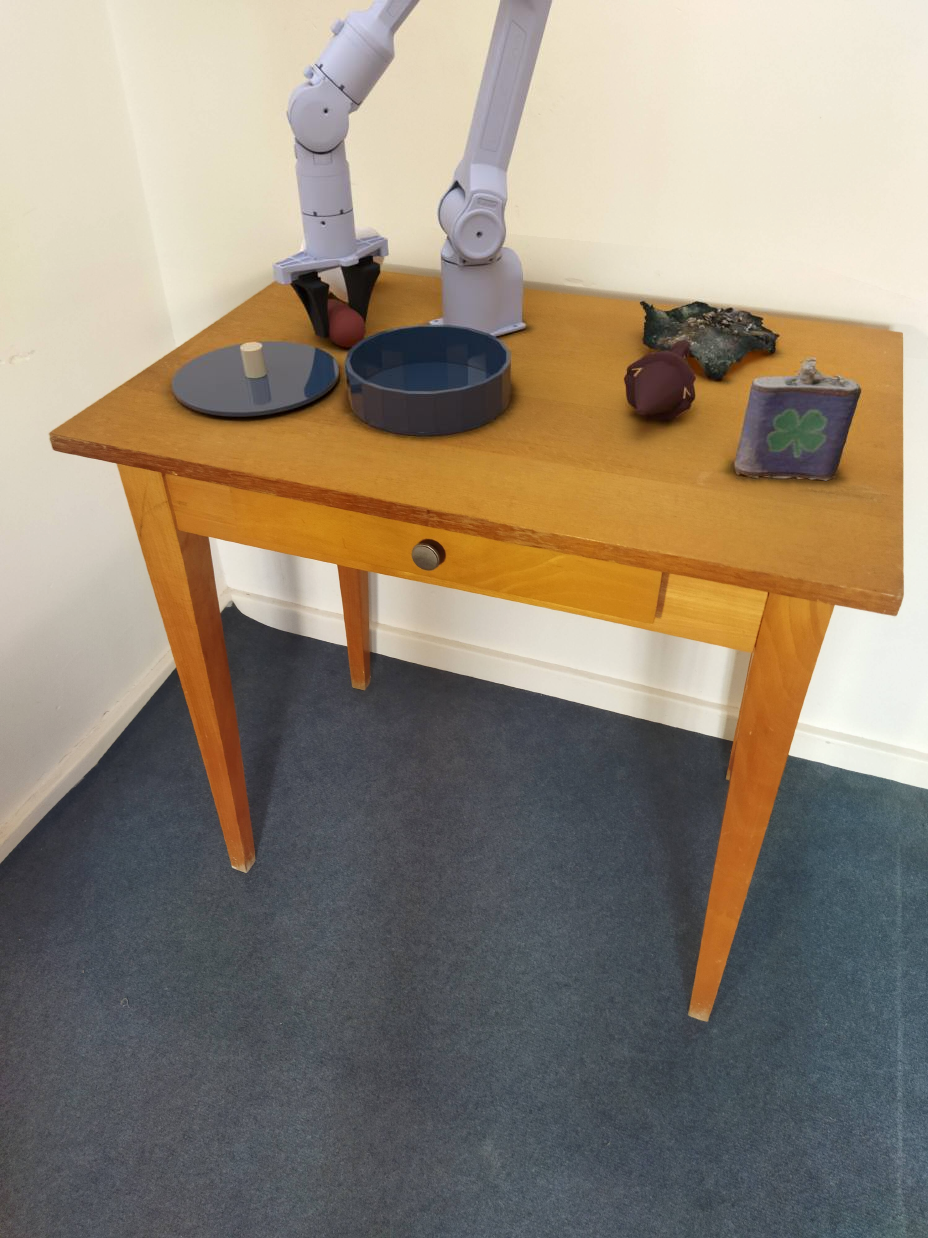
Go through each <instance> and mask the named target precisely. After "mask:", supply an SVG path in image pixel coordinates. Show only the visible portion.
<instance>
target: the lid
mask: <svg viewBox="0 0 928 1238" xmlns="http://www.w3.org/2000/svg"><path fill="white" fill-rule="evenodd" d="M339 376H340V367H339V364H338V361H337V360H336V359H335V358H334V357H333V356H332V355H331V354H330V353H328V352H327V351H325V350H323V349H321V348H319V347H316V346H313V345H310V344H305V343H299V342H292V341H282V340H281V341H280V340H279V341H278V340H266V341H249V342H244V343H238V344H233V345H228V346H224V347H221V348H217V349H213V350H211V351H208V352H206V353H203V354H200V355H199V356H197V357H195V358H193V359H191V360H189V361H188V362H187V363H185V364H183V366H181V367H180V368H179V369H178V370H177V371H176V372H175V373H174V375H173V376H172V377H173V378H172V380H171V389H172V393H173V395H174V397H175V398H176V399H177V401H178V402H179V403H181V404H182V405H184V406H185V407H187V408H189V409H191V410H194V411H197V412H200V413H204V414H208V415H213V416H221V417H235V418H236V417H256V416H257V417H258V416H264V415H271V414H277V413H281V412H285V411H290V410H293V409H297V408H299V407H302V406H305V405H307V404H309V403H311V402H314V401H315V400H318V399H319V398H321V397H323V396H324V395H325V394H327V393H328V392H329V391H331V389H332V388H334V386H335V385H336V383H337V382H338V380H339Z"/></svg>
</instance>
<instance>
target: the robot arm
mask: <svg viewBox="0 0 928 1238" xmlns="http://www.w3.org/2000/svg"><path fill="white" fill-rule="evenodd" d="M420 1H421V0H373V2H372V3H371V5H370V7H369V8H367V9H366V10H365V9H364V10H353V11H349V12H348V14H347V15H346V16H345V18H344V19H343V20H341V18H339V17H336V19H335V20H334V22H333V23H332V25H331V26H330V30H331V32H332V33H333V36H332V37H331V38H330V39H329V42H328V43H327V44H326V46H325V47H324V49H323V50H322V52H321V54H319V56H318V58H317V59H316V61H315V63H314V64H313V65H312V66H311V65H310V64H307V65H306V66H305V68H304V69H303V71H302V74H303V76H304V77H305V78H306V79H307V80H306V81H304V82H301V83H300V84H298V85H297V86H295V88H294V89H293V90H292V92H291V94H290V95H289V99H288V101H287V110H286V118H287V122H288V123H289V125H290V128H291V131H292V133H293V135H294V144H293V153H294V157H295V159H296V163H295V167H294V168H295V176H296V183H297V191H298V197H299V198H298V199H299V206H300V213H301V223H302V229H303V238H305V246H306V249H305V250H303V251H301V252H300V251H298V252H297V253H295V254H293V255H291V256H289V257H287V258H285V259H282V260H279V261H277V262H273V263H272V272H273V276H274V277H273V278H274V282H277V283H278V284H281V285H283V286H287V285H290V286H291V287H292V289H293V291H294V292H295V293H296V295H297V296H298V298H299V300H300V302H301V303H302V305H303V307H304V309H305V311H306V313H307V316H308V318H309V321H310V323H311V325H312V326H311V327H312V329H313V332H314V335H315V336H317V337H319V338H321V339H322V340H326V339H329V320H328V300H329V294H328V292H329V287H330V285H329V284H328V283H325V282H323V281H321V277H318V273H321V272H324V271H328V270H331V269H335V268H338V267H341V270H342V274H343V277H344V281H345V285H346V289H347V295H348V303H347V304H348V307H350V308H351V309H353V310H355V311H356V312H357V313H359V314H360V315H361V317H362V318H363V320H364V323H365V326H366V324H367V318H368V312H369V305H370V302H371V298H372V293H373V290H374V287H375V286H376V283H377V280H378V278H379V276H380V275H381V268H380V264H379V263H376V262H374V261H373V257H377V256H380V257H388V256H389V240H388V238H387V237H384V236H382V235H381V236H379V235H376V236H372V237H366V238H359V239H356V234H355V227H356V225H355V215H354V214H355V213H354V203H353V193H352V192H353V191H352V182H351V171H350V163H349V161H348V160H347V152H346V142H345V139H346V138H347V136H348V133H349V129H350V117H349V116H350V115H351V114H352V113H354V112H357V111H358V110H359V109H360V107H361V106H362V104H363V103H364V102H365V100H366V99H367V97H368V96H369V95H370V93H371V92H372V91H373V89H374V87H375V86H376V85H377V83H378V82H379V80H380V79H381V78H382V77H383V75H384V73H385V72H386V70H388V68H389V67H390V66H391V64H392V63H393V61H394V60H395V58H396V57H395V55H396V52H395V51H396V50H395V43H394V42H395V41H394V38H395V35H396V33H397V32H398V30H399V29H400V27H402V25H403V24H404V22H405V21H406V20H407V18H408V17H409V15H410V14H411V13H412V12H413V11H414V9H415V8H416V6H417V5H418V4H419V3H420ZM552 4H553V0H499V3H498V8H497V12H496V15H495V20H494V25H493V28H492V29H493V30H492V33H491V36H490V37H491V38H490V42H489V46H488V50H487V55H486V59H485V63H484V67H483V72H482V76H481V80H480V84H479V88H478V93H477V97H476V101H475V106H474V110H473V113H472V119H471V122H470V127H469V131H468V135H467V139H466V144H465V148H464V152H463V156H462V158H461V160H460V161H459V163H458V164H457V165H456V167H455V169H454V172H453V177H452V180H451V183H450V185H449V187H448V188H447V189H446V191H445V192H444V193H443V195H442V196H441V198H440V200H439V203H438V206H437V221H438V224H439V226H440V229H442V231H443V232H444V233H445V234H446V238H445V241H444V243H443V245H442V246H441V248H440V276H441V308H442V312H441V313H442V317H440V318H437V319H432V320H429V322H428V325H453V326H460V327H468V328H472V329H476V330H479V331H482V332H486V333H489V334H491V335H492V336H494V337H496V338H497V337H499V336H502V335H506V334H510V333H513V332H517V331H521V330H524V329H526V328H527V324H526V323H525V322H523V303H524V302H523V300H524V271H523V266H522V262H521V260H520V258H519V255H518V254H517V253H516V252H515V250H513V249H512V248H511V247H508V246H504V244H505V242H506V237H507V226H506V220H505V219H506V218H505V213H506V212H505V211H506V206H507V202H508V180H507V179H508V178H507V176H508V175H507V173H508V170H509V165H510V162H511V158H512V153H513V150H514V148H515V147H514V146H515V142H516V139H517V136H518V133H519V128H520V124H521V121H522V117H523V113H524V109H525V106H526V101H527V97H528V94H529V89H530V86H531V83H532V79H533V74H534V71H535V67H536V63H537V59H538V57H539V52H540V49H541V44H542V41H543V37H544V34H545V30H546V26H547V22H548V19H549V15H550V12H551V11H550V10H551V7H552Z"/></svg>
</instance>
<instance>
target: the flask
mask: <svg viewBox="0 0 928 1238" xmlns="http://www.w3.org/2000/svg"><path fill="white" fill-rule="evenodd" d="M805 361H806V362H804V360H803V359H800V360H799V363H802V365H801V367H800V370H798V371H796V373H797V375H781V376H779V375H778V376H760V377H756V378H755V379H754V380H752V382H751V385H750V390H749V396H748V402H747V405H746V409H745V414H744V419H743V424H742V427H741V428H742V429H741V433H740V438H739V441H738V447H737V450H736V451H737V452H736V454H735V455H736V456H735V460H734V463H733V467H734V471H735V473H736V475H743V476H745V477H749V478H754V479H755V478H756V479H757V478H758V479H759V477H761V478H773V479H780V480H781V479H783V480H787V479H790V478H796V479H798V480H800V479H801V480H802V479H809V480H812V481H813V480H821V481H830V480H831V479H835V478H836V476H835V475H836V473H837V471H838V468H839V466H840V462H841V458H842V456H843V452H844V449H845V446H846V443H847V439H848V435H849V432H850V428H851V426H852V423H853V419H854V416H855V412H856V411H857V410H856V409H857V408H858V407H857V406H858V403H859V399H860V397H861V394H862V388H861V386H860V384H859V383H857V382H856V381H855V380H853V379H851V378H844V377H842V375H835V374H834V375H833V376H830V375H823V373H822V372H820V371H819V369H816V365H817V364H818V363H819V362H818V361H817V358H815V357H807V358H805Z"/></svg>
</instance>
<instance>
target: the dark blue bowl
mask: <svg viewBox="0 0 928 1238" xmlns="http://www.w3.org/2000/svg"><path fill="white" fill-rule="evenodd" d="M344 369H345V379H346V387H347V396H348V401H349V406H350V408H351V411H352V412H353V413H354V415H355V417H357V418H358V420H360V421H362V422H363V423H365V424H367V425H369V426H371V427H373V428H376V429H378V430H381V431H384V432H388V433H393V434H399V435H404V436H405V435H406V436H416V437H417V436H418V437H430V436H431V437H432V436H444V435H445V436H446V435H453V434H459V433H462V432H467V431H470V430H474V429H477V428H480V427H482V426H485V425H487V424H489V423H491V422H493V421H494V420H495V419H497V418H498V417H500V416H501V415H502V414H503V413H504V412H505V410H507V408H508V406H509V404H510V400H511V376H512V375H511V374H512V373H511V372H512V371H511V370H512V352H511V349H509V347H508V346H507V344H506V343H505V342H504V341H503V340H502V339H499V338H498V337H497V336H496V337H494V336H492V335H491V334H489V333H486V332H482V331H479V330H476V329H472V328H468V327H460V326H453V325H429V324H417V325H416V324H415V325H408V326H399V327H394V328H391V329H387V330H383V331H380V332H376V333H374V334H371V335H370V336H367V337H366V338H365V337H364V338H363V340H361V341H359V342H358V343H357V344H356V345H355V346H354V347H350V349H349V350H348V352H347V354H346V357H345V359H344Z"/></svg>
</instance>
